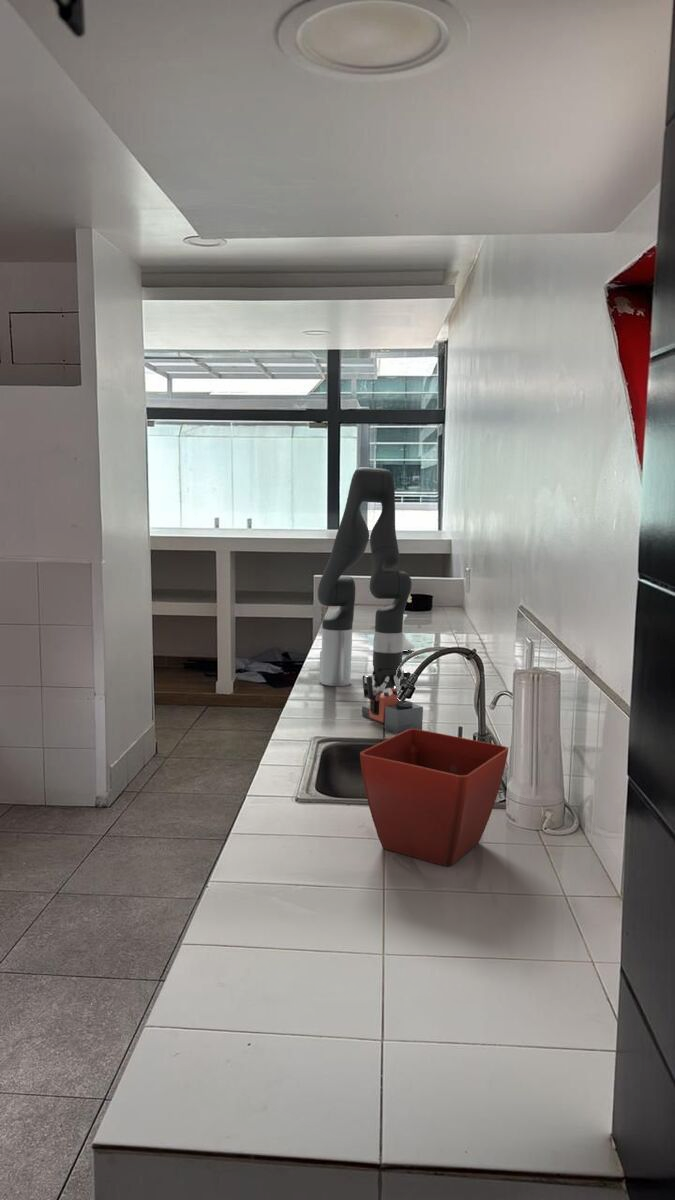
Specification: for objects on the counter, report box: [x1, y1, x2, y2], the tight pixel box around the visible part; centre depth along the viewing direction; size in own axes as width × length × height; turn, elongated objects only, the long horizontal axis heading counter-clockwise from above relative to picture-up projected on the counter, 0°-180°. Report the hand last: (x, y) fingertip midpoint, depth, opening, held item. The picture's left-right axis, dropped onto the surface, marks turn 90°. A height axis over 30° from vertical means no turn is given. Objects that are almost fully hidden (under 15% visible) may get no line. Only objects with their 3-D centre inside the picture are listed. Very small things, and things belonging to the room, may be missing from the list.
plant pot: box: [359, 729, 509, 867], centre depth 146 cm, size 19×19×17 cm
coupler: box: [361, 700, 424, 735], centre depth 224 cm, size 19×8×7 cm, turn 34°
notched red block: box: [369, 692, 399, 723], centre depth 225 cm, size 6×6×7 cm
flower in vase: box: [402, 593, 415, 651], centre depth 327 cm, size 13×11×25 cm
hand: (385, 712), depth 225 cm, fingers closed on notched red block, 6 cm apart
